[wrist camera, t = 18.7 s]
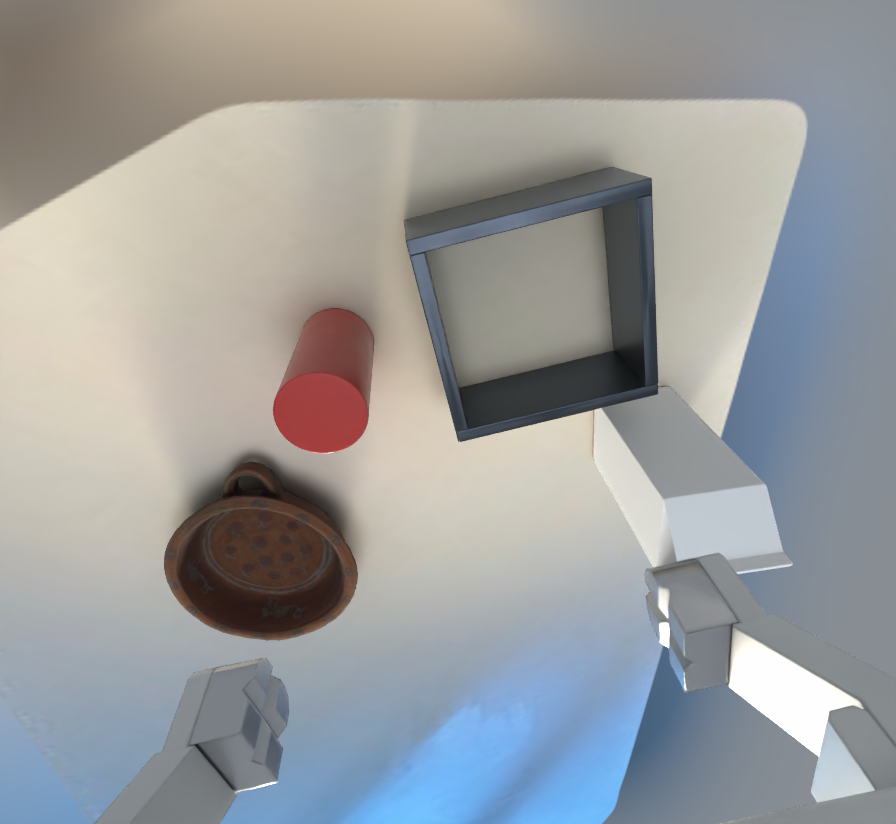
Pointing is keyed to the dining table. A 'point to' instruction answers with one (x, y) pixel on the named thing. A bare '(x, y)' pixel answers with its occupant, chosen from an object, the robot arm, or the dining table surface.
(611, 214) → the open box
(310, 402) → the can
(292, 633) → the dish
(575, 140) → the dining table surface
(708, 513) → the milk carton
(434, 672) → the dining table surface
